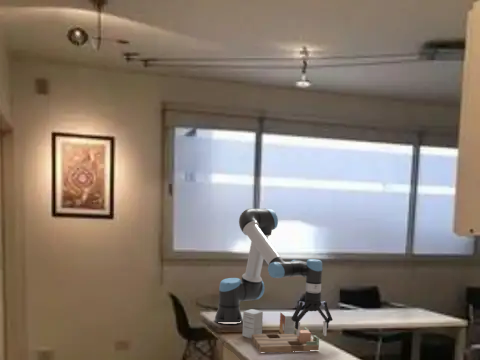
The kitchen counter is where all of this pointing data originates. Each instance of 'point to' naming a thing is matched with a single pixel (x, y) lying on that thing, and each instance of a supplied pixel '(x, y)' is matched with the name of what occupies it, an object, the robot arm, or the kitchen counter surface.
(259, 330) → the supplement box
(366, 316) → the kitchen counter surface
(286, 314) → the small box
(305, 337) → the block
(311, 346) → the tray
